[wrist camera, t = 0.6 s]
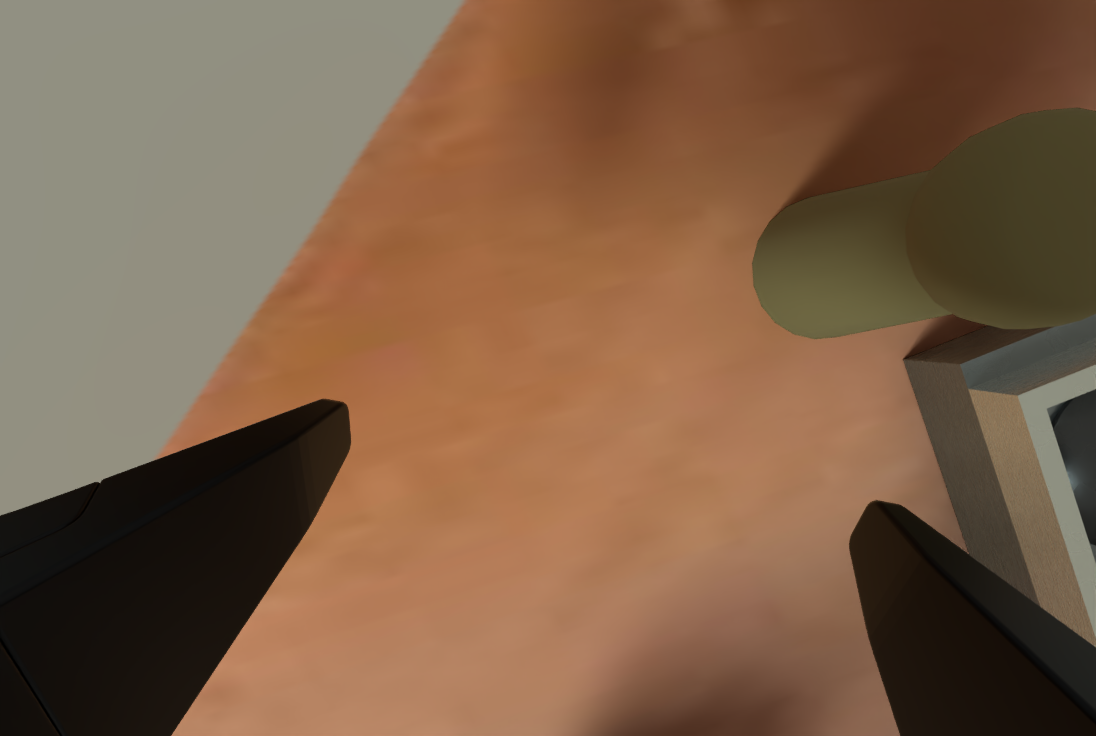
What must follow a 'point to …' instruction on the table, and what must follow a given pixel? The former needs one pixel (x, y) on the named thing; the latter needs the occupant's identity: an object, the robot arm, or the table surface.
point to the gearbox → (1021, 456)
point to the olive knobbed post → (946, 238)
